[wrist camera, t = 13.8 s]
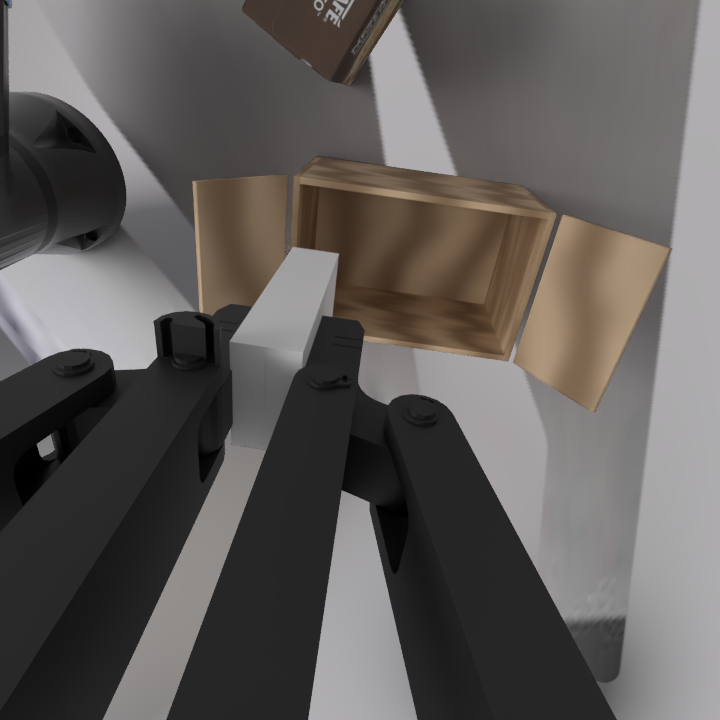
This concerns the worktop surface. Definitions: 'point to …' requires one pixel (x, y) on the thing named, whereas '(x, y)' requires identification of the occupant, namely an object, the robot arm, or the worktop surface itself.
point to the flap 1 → (238, 237)
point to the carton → (424, 252)
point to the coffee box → (326, 31)
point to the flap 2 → (587, 307)
